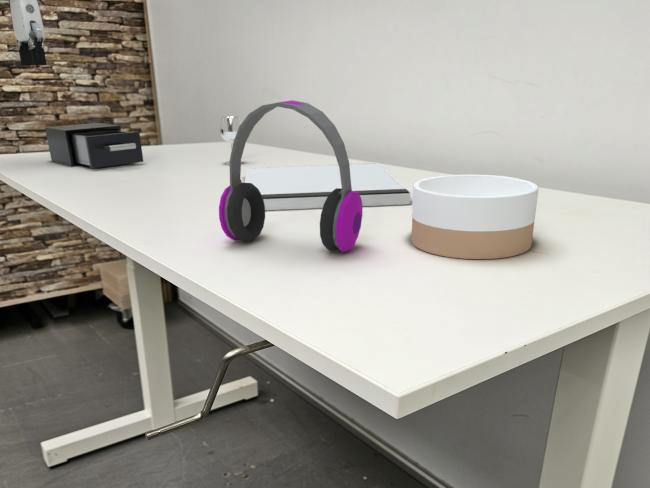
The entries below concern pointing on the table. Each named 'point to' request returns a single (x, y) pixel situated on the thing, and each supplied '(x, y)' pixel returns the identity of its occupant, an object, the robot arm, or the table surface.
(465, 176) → the bowl
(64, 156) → the drawer box
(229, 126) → the wineglass
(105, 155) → the black drawer
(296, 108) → the headphones
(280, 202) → the pale grey flat slab
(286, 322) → the table surface
